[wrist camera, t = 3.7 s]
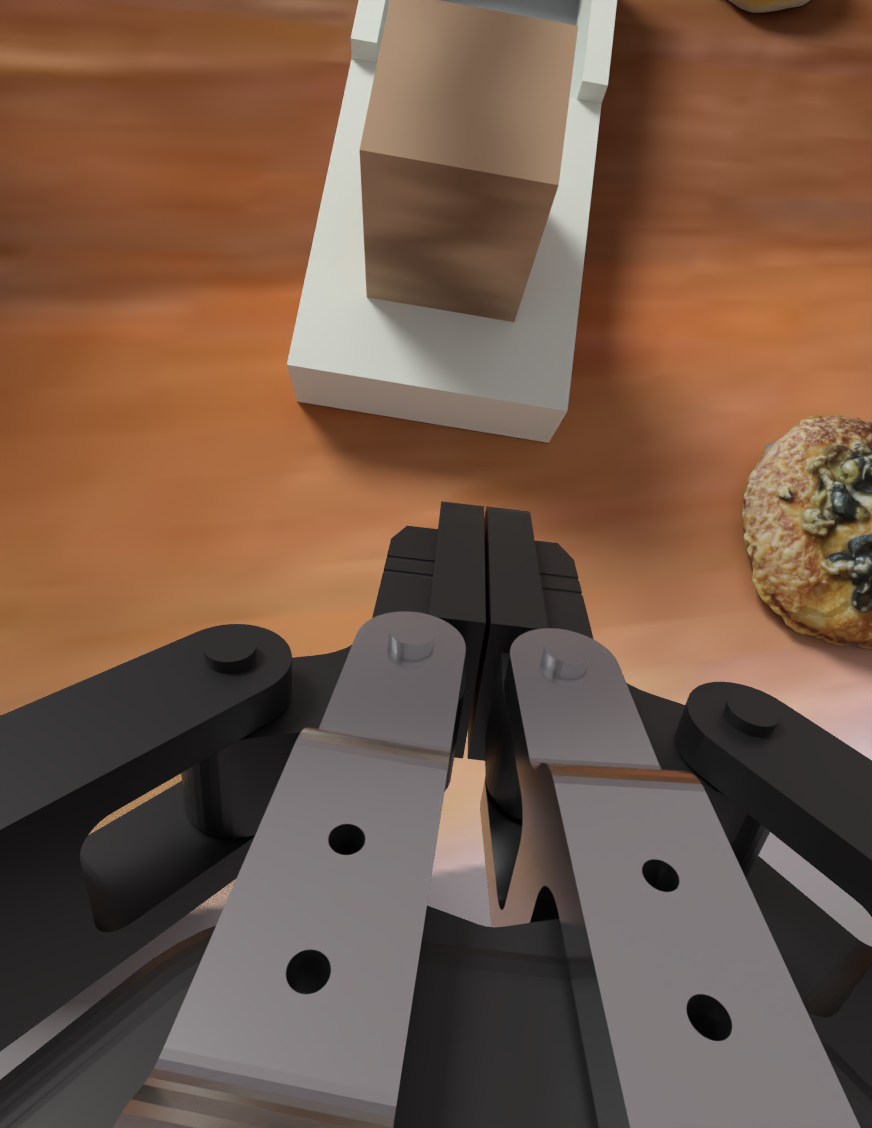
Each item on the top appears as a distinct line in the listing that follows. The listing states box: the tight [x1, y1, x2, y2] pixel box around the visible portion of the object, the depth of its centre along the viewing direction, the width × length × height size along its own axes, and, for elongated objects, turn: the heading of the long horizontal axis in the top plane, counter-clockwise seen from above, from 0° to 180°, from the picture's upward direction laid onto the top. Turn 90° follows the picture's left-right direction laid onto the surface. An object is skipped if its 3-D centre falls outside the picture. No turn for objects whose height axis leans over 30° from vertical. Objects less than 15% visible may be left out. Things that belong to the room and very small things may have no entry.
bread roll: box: [742, 416, 872, 650], centre depth 31 cm, size 11×11×5 cm
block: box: [360, 0, 578, 322], centre depth 27 cm, size 6×6×8 cm
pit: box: [351, 0, 617, 104], centre depth 35 cm, size 12×12×4 cm
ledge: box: [287, 59, 601, 443], centre depth 33 cm, size 12×16×4 cm
